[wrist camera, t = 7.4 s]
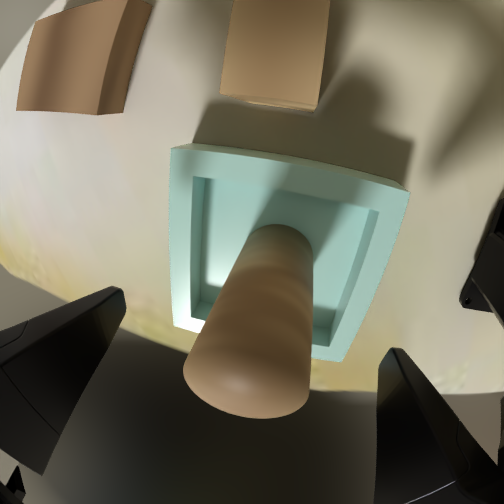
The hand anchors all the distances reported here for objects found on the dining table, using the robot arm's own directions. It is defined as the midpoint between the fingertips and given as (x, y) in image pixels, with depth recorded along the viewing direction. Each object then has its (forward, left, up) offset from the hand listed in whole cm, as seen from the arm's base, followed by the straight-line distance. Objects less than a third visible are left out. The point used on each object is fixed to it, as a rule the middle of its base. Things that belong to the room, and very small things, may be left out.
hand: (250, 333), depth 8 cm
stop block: (+1, -10, -6) cm, 11 cm away
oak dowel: (0, 0, -5) cm, 5 cm away
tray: (0, 0, -6) cm, 6 cm away
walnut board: (+12, -10, -6) cm, 16 cm away
